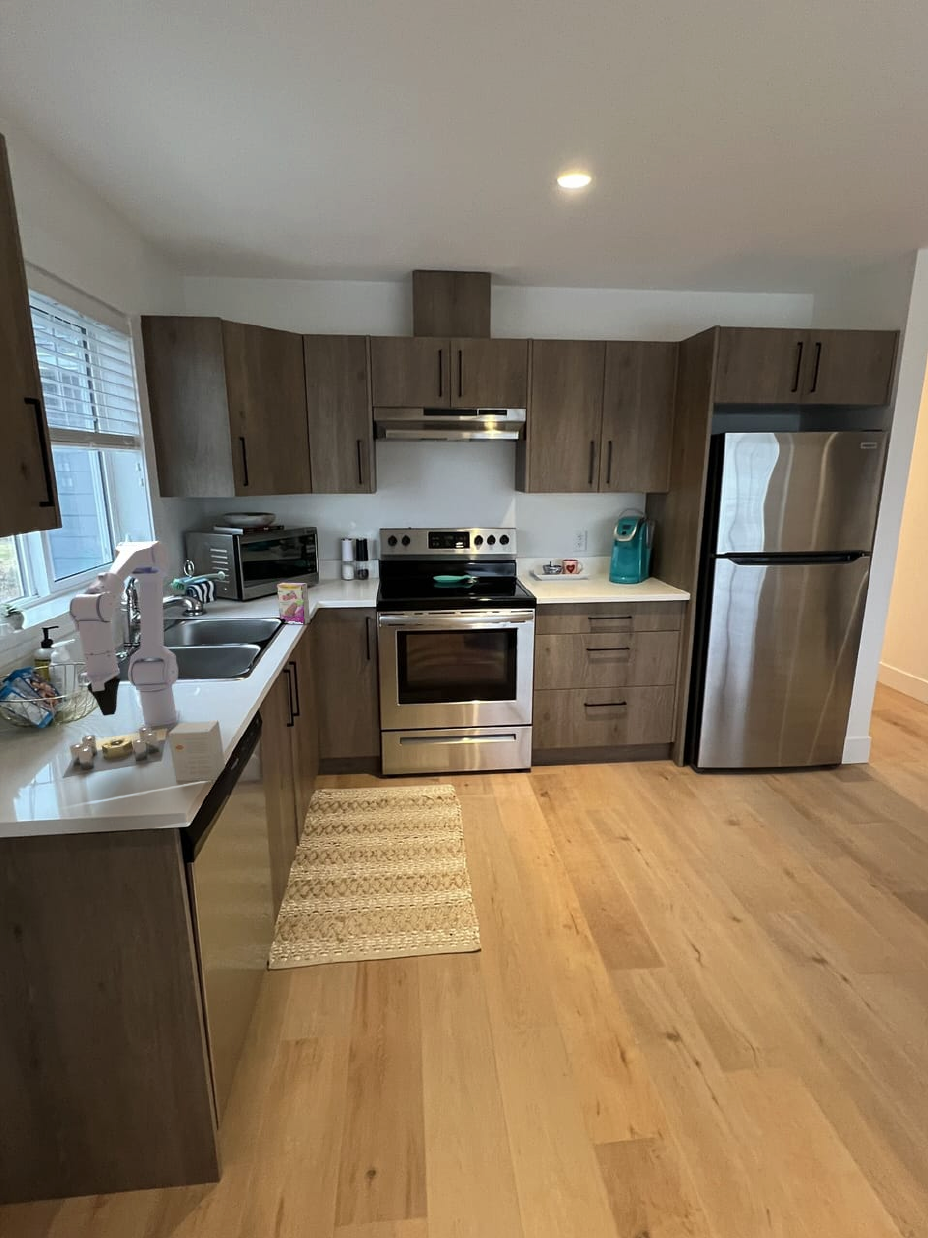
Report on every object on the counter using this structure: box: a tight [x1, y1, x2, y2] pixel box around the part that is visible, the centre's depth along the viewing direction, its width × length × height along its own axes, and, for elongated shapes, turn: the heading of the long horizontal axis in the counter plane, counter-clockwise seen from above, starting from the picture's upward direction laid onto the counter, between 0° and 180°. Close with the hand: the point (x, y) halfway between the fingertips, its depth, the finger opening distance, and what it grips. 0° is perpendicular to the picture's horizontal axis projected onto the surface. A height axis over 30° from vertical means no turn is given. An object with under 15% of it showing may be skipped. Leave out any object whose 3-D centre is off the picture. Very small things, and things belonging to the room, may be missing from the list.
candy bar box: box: [276, 582, 311, 626], centre depth 254 cm, size 11×5×16 cm, turn 77°
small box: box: [168, 720, 226, 782], centre depth 125 cm, size 8×6×10 cm
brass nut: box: [102, 737, 133, 759], centre depth 136 cm, size 5×6×3 cm
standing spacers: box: [69, 727, 159, 770], centre depth 135 cm, size 9×16×4 cm, turn 111°
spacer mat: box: [62, 728, 168, 779], centre depth 138 cm, size 19×18×1 cm
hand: (109, 713), depth 132 cm, fingers closed
